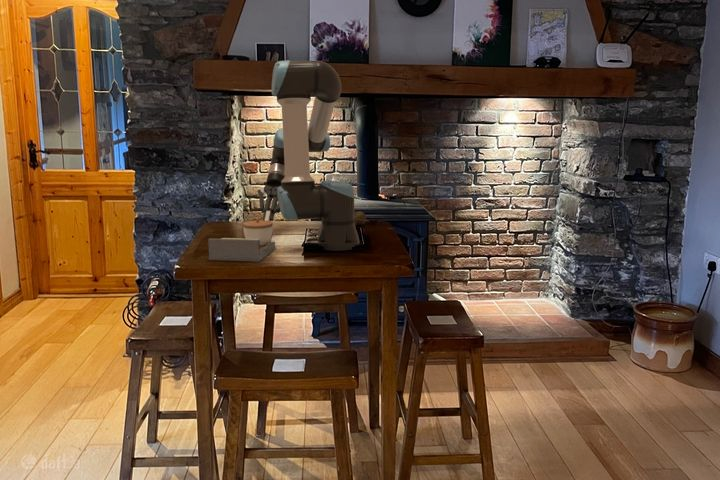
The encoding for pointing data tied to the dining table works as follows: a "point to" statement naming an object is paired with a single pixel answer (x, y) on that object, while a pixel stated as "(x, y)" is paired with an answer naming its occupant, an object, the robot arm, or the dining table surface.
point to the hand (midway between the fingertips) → (266, 226)
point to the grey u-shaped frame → (238, 250)
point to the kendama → (359, 218)
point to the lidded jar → (258, 230)
